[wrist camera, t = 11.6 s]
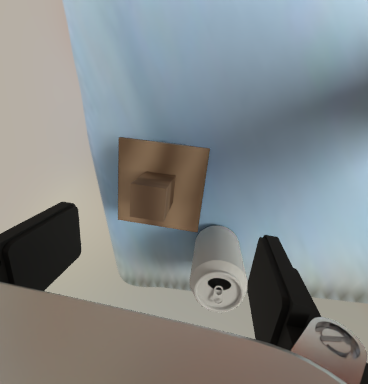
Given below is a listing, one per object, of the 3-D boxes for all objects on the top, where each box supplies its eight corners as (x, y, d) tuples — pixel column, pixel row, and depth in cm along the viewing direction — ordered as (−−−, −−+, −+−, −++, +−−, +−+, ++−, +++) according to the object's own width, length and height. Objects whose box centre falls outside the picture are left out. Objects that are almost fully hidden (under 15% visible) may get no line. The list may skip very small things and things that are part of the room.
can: (241, 225, 36) (254, 273, 24) (235, 262, 38) (244, 322, 27) (197, 220, 36) (190, 265, 25) (193, 257, 39) (186, 312, 27)
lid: (209, 148, 27) (209, 156, 21) (197, 229, 31) (194, 257, 25) (121, 137, 28) (94, 141, 22) (120, 217, 32) (97, 240, 26)
